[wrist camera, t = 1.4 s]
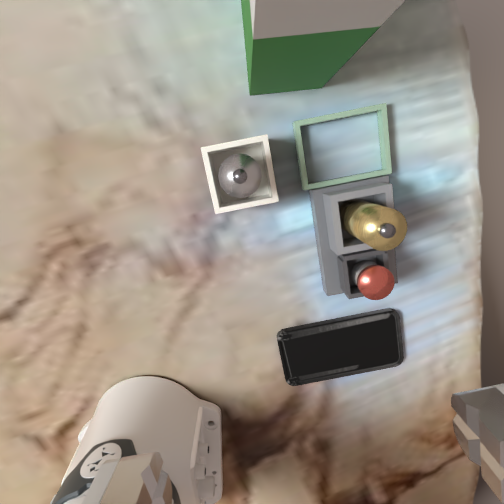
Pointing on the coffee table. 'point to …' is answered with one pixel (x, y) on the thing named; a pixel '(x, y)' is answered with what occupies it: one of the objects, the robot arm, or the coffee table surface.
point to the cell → (373, 224)
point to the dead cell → (239, 175)
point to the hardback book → (305, 39)
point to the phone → (341, 347)
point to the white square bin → (252, 148)
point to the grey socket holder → (341, 242)
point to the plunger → (372, 279)
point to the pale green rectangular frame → (379, 108)
